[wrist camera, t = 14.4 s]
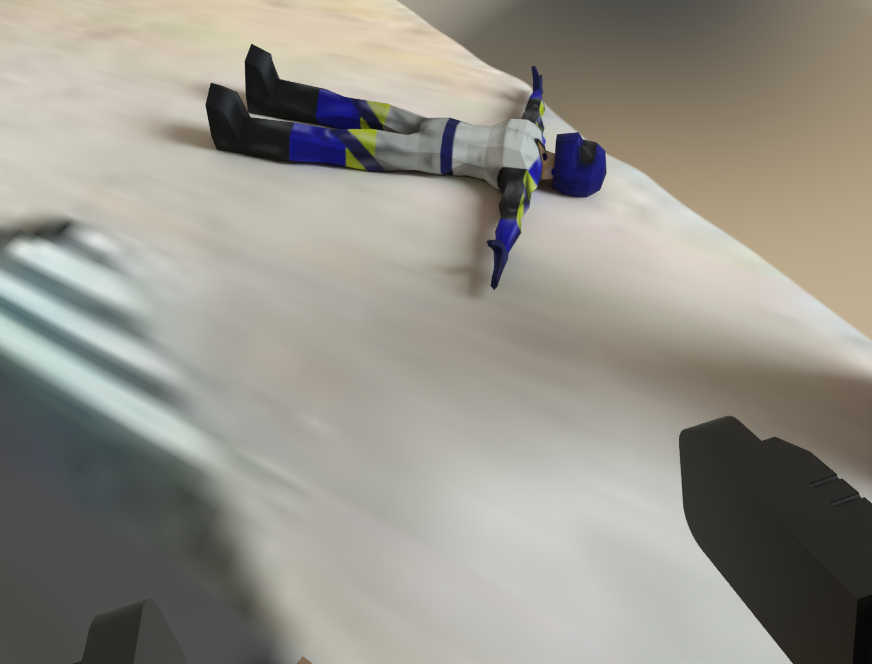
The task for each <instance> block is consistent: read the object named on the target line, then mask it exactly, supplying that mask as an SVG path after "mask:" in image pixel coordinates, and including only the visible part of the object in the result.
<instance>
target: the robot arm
mask: <svg viewBox="0 0 872 664" xmlns="http://www.w3.org/2000/svg"><path fill="white" fill-rule="evenodd" d="M679 449H680V464H681V479H682V494H683V507H684V513H685V517H686V520H687V523H688V526H689V528H690V531H691V533H692V535H693V537H694V539H695V540H696V542H697V544H698V545H699V547H700V548H701V549H702V551H703V552H704V553H705V554H706V556H707V557H708V558H709V559H710V561H711V562H712V563H713V564H714V566H715V567H716V568H717V569H718V571H719V572H720V573H721V574H722V576H723V577H724V578H725V579H726V581H727V582H728V583H729V584H730V586H731V587H732V588H733V589H734V591H735V592H736V593H737V594H738V596H739V597H740V598H741V599H742V601H743V602H744V603H745V604H746V606H747V607H748V608H749V609H750V611H751V612H752V613H753V614H754V616H755V617H756V618H757V619H758V621H759V622H760V623H761V624H762V626H763V627H764V628H765V629H766V631H767V632H768V633H769V634H770V636H771V637H772V638H773V639H774V641H775V642H776V643H777V644H778V646H779V647H780V648H781V649H782V651H783V652H784V653H785V654H786V656H787V657H788V658H789V659H790V661H791V662H792V663H793V664H872V503H871V502H870V501H868V500H867V499H866V498H865V497H864V498H861V497H860V495H859V492H858V491H856V490H855V489H854V488H853V487H852V486H850V485H849V484H848V483H847V482H846V481H844V480H843V479H839V478H838V477H837V474H836V473H835V472H834V471H833V470H831V469H830V468H829V467H828V466H827V465H825V464H824V463H823V462H822V461H821V460H819V459H818V458H817V457H816V456H815V455H813V454H812V453H811V452H809V451H807V450H805V449H802V448H800V447H798V446H795V445H793V444H791V443H788V442H786V441H784V440H781V439H779V438H777V437H773V438H770V439H767V440H764V441H761V440H760V439H759V438H758V437H756V436H755V435H754V434H753V433H752V432H751V431H750V430H749V429H748V428H746V427H745V426H744V425H743V424H742V423H741V422H740V421H739V420H737V419H736V418H734V417H732V416H725V417H722V418H719V419H715V420H712V421H709V422H706V423H703V424H700V425H697V426H694V427H690V428H687V429H684V430H682V432H681V433H680V436H679ZM74 664H189V663H188V661H187V659H186V657H185V656H184V654H183V652H182V650H181V648H180V646H179V644H178V642H177V640H176V638H175V637H174V635H173V633H172V631H171V629H170V627H169V625H168V623H167V621H166V619H165V618H164V616H163V614H162V612H161V610H160V608H159V607H158V605H157V604H156V602H155V601H153V600H151V599H148V600H144V601H141V602H138V603H135V604H132V605H129V606H126V607H122V608H119V609H116V610H113V611H110V612H107V613H104V614H101V615H98V616H96V617H95V618H94V619H93V621H92V623H91V625H90V629H89V633H88V637H87V642H86V646H85V650H84V654H83V658H82V661H80V662H77V663H74Z"/></svg>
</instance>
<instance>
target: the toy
mask: <svg viewBox="0 0 872 664" xmlns="http://www.w3.org/2000/svg"><path fill="white" fill-rule="evenodd" d="M532 74H533V93H532V95H531V96H530V98H529V100H528V103H527V106H526V109H525V112H524V114H523V116H522V119H509V120H507V121H505V122H502V123H500V124H498V125H495V126H493V127H491V126H478V125H472V124H469V123H466V122H462V121H459V120H456V119H452V118H426V117H423V116H420V115H417V114H414V113H412V112H409V111H406V110H403V109H400V108H398V107H395V106H392V105H389V104H385V103H379V102H373V101H367V100H360V99H354V98H348V97H343V96H341V95H339V94H336V93H334V92H331V91H329V90H326V89H323V88H318V87H313V86H309V85H304V84H299V83H295V82H290V81H286V80H281V79H279V77H278V74H277V72H276V69H275V66H274V64H273V61H272V57H271V54H270V53H268V52H266V51H264V50H262V49H260V48H259V47H257V46H255V45H253V44H251V46H250V49H249V52H248V54H247V57H246V59H245V84H246V99H247V106H248V111H247V110H246V108H245V106H244V104H243V102H242V100H241V98H240V96H239V94H238V92H236V91H233V90H231V89H229V88H226V87H224V86H221V85H218V84H214V83H211V84H210V88H209V93H208V97H207V101H206V110H207V115H208V120H209V126H210V131H211V136H212V139H213V141H214V144H215V146H216V149H218V150H223V151H229V152H234V153H240V154H245V155H249V156H253V157H261V158H270V159H279V160H288V161H300V162H324V163H331V164H337V165H342V166H347V167H352V168H357V169H363V170H368V171H385V170H418V171H422V172H427V173H432V174H437V175H446V174H449V175H457V176H460V175H467V176H471V177H476V178H480V179H484V180H486V181H487V182H488V183H489V184H490V185H491V186H493V187H494V188H495V189H498V190H501V191H502V192H503V193H504V194H503V196H502V199H501V201H500V204H499V209H500V214H501V218H500V221H499V223H498V226H497V229H496V231H495V234H496V240H489V241H487V243H488V246H489V247H491V248H492V249H493V251H494V271H493V275H492V280H491V287H492V288H493V289H494V290H495V289H496V288H497V286H498V283H499V280H500V277H501V274H502V272H503V269H504V267H505V264H506V262H507V260H508V253H509V251H510V250H511V248H512V247H513V245H514V243H515V242H516V240H517V239H518V237H519V235H520V234H521V218H522V217H523V215H524V214H525V213H526V211H527V210H528V208H529V205H530V198H531V193H532V192H533V191H534V190H535V189H536V188H537V187H538V183H539V181H540V180H541V179H553V183H552V186H553V187H554V188H556V189H557V190H558V191H559V192H561V193H563V194H567V195H571V196H574V197H588V196H590V195H592V194H594V193H595V192H597V191H599V190H600V189H601V186H602V183H603V181H604V178H605V175H606V156H605V150H604V149H603V148H602V147H601V146H600V145H599V144H597V143H596V142H592V141H587V140H583V139H582V137H581V136H580V134H579V132H577V133H567V134H557V138H556V148H555V154H554V153H551V152H549V151H546V150H545V142H546V140H545V138H544V137H543V135H542V134H543V131H544V126H543V122H542V119H541V118H542V116H543V113H544V111H545V107H544V103H543V99H542V93H543V89H542V75H540V76H539V74H538V72H537V69H536V68H535V66H533V67H532ZM248 112H250V113H255V114H261V115H266V116H272V117H277V118H282V119H289V120H296V121H303V122H310V123H317V124H322V125H326V126H330V127H334V128H338V129H329V128H322V127H316V126H310V125H304V124H299V123H292V122H284V121H276V120H268V119H260V118H252V117H250V115H249V113H248Z"/></svg>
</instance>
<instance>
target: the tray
mask: <svg viewBox="0 0 872 664" xmlns="http://www.w3.org/2000/svg"><path fill="white" fill-rule="evenodd" d="M297 664H312V663H311V662H309V661H308V660H307V659H305V658H304V657H302V658H301V659H300V661H299V662H298V663H297Z"/></svg>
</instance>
